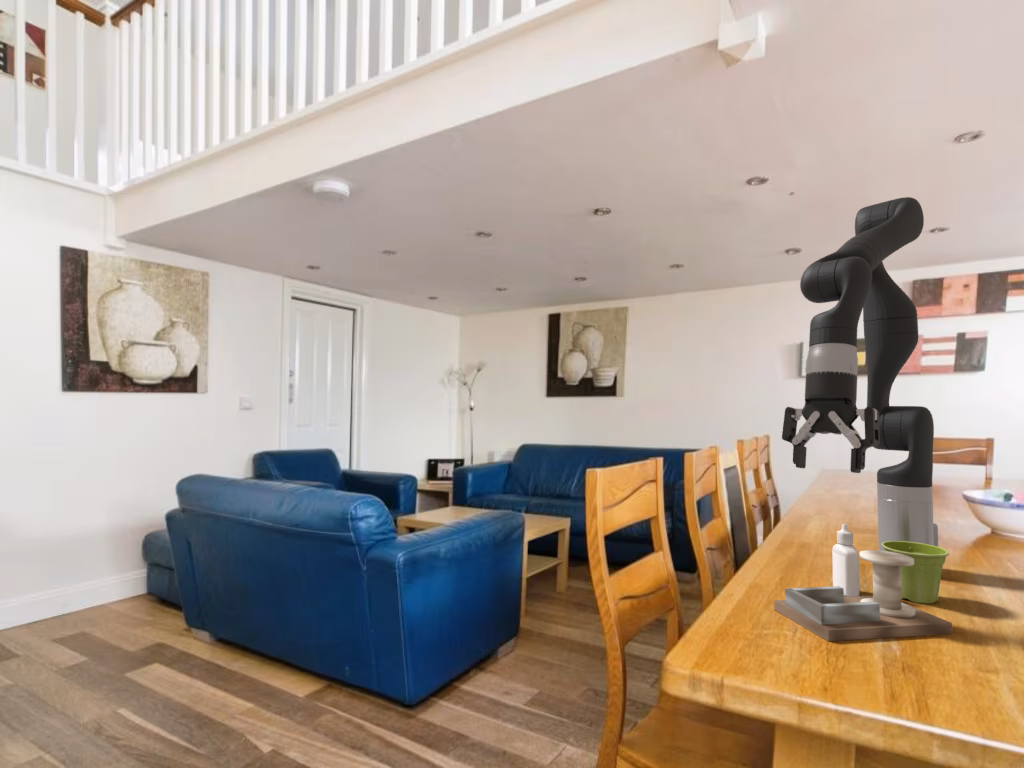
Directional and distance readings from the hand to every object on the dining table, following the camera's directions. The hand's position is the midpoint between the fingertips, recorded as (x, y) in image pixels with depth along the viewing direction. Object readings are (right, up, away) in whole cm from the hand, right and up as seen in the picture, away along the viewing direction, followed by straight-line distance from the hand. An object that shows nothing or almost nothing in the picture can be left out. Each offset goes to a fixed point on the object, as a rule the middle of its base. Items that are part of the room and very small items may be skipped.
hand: (826, 470), depth 90 cm
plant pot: (+18, -23, +4) cm, 29 cm away
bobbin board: (+1, -22, -7) cm, 23 cm away
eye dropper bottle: (+7, -23, +7) cm, 25 cm away
